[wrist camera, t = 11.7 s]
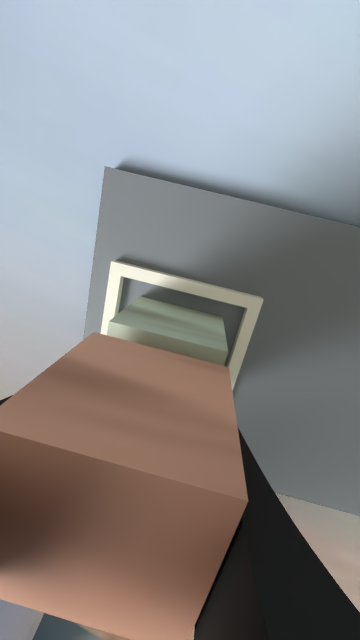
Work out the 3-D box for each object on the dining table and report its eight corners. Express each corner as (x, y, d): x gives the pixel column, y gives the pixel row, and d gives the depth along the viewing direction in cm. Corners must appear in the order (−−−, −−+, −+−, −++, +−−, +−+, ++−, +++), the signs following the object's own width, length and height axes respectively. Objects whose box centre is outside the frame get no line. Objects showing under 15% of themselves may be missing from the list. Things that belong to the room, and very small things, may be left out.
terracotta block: (194, 472, 10) (181, 654, 5) (78, 440, 10) (-22, 592, 6) (228, 367, 8) (248, 501, 4) (94, 331, 9) (-24, 424, 4)
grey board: (367, 507, 17) (380, 530, 16) (77, 427, 18) (66, 442, 17) (519, 268, 12) (556, 271, 11) (111, 170, 13) (99, 162, 12)
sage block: (201, 389, 15) (197, 448, 11) (126, 369, 15) (93, 420, 11) (222, 317, 14) (228, 352, 9) (140, 296, 14) (108, 321, 10)
